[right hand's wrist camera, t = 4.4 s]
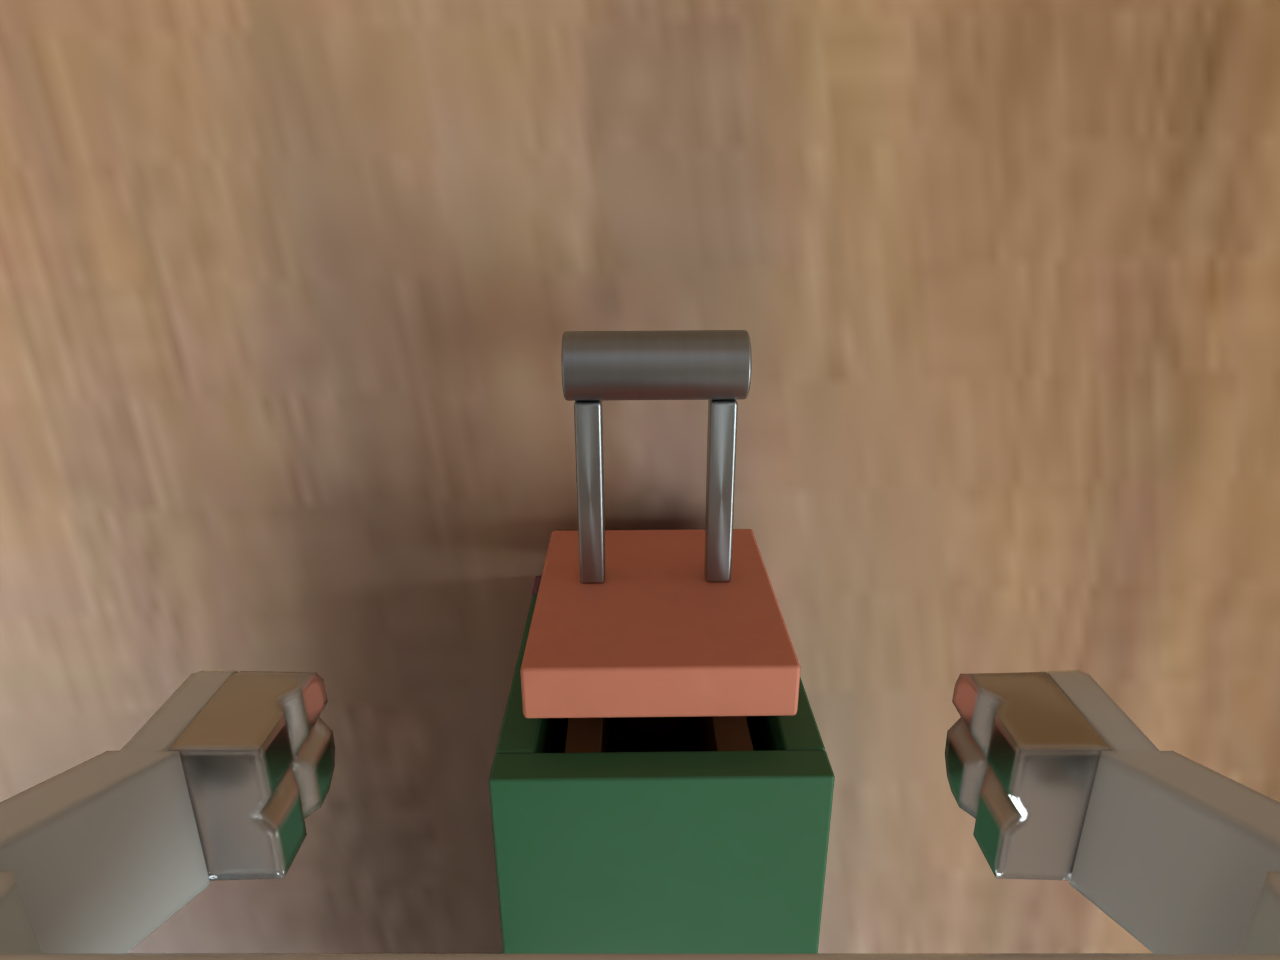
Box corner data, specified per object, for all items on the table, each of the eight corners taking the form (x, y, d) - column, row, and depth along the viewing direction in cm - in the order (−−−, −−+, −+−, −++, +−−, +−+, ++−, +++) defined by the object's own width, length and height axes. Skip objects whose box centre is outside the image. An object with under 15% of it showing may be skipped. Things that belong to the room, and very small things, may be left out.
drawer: (541, 311, 20) (499, 371, 14) (763, 310, 20) (824, 368, 14) (573, 1001, 29) (556, 1238, 22) (730, 999, 29) (759, 1235, 22)
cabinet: (536, 576, 24) (486, 780, 16) (765, 573, 24) (836, 775, 16) (561, 1036, 30) (536, 1347, 22) (740, 1034, 31) (780, 1342, 22)
